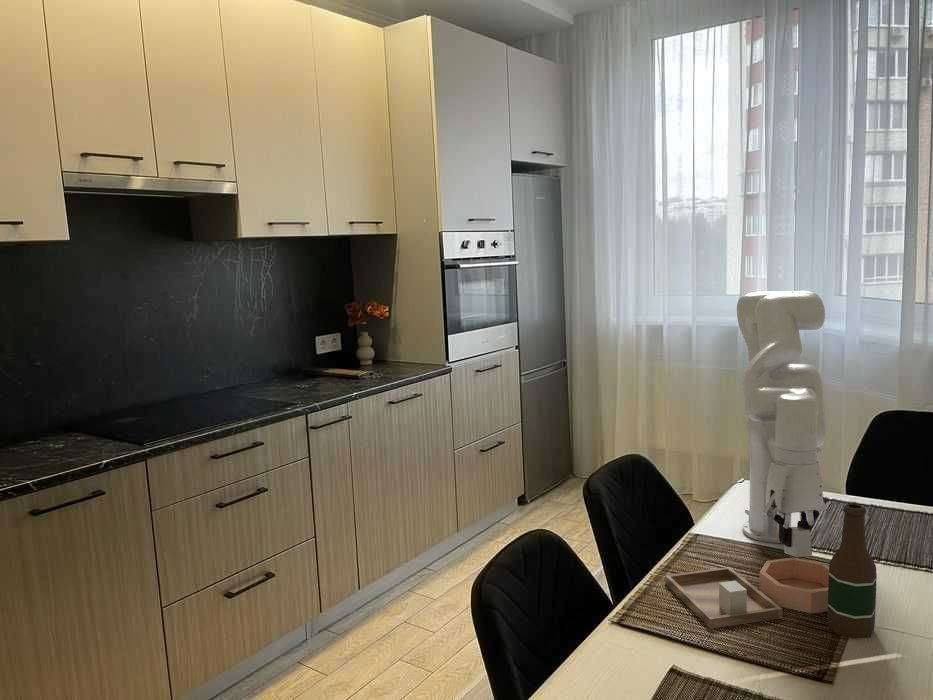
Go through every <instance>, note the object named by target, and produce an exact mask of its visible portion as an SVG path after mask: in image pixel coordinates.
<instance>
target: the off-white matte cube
mask: <svg viewBox="0 0 933 700" xmlns="http://www.w3.org/2000/svg"><path fill="white" fill-rule="evenodd" d="M790 528H792V539H791V547H787V546H785V545H784V544H783V551H784V554H786V555H788V556H791V557H793V558H802V557H810V556H811V557H812V556H813V549H812V548H813V547H812V536H810V530H808V529H803V528H800V527H797V526H794V527H790Z"/></svg>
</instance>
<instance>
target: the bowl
mask: <svg viewBox="0 0 933 700" xmlns="http://www.w3.org/2000/svg"><path fill="white" fill-rule="evenodd" d="M828 578H829V565H828V564H826V563H823V562H819V561H814V560H808V559H802V558H799V557H794V556H791V557H787V558H779V559H778V558H777V559H772V560H766V561H765V563H764V564H763V566H762V568H761V569H760V571H759V591H761V592H762V593H763V594H764V595H766V596H767V597H768V598H769V599H771V600H772V601H773V602H774V603H776V604H777V605H778V606H780V607H781V608H785V609H790V610H794V611H797V612H798V611H799V612H804V613H807V614H816V613H817V614H818V613H824V612H828Z"/></svg>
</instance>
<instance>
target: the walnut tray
mask: <svg viewBox="0 0 933 700" xmlns="http://www.w3.org/2000/svg"><path fill="white" fill-rule="evenodd" d="M664 576H665V577H664V578H665V579H664V582H665V583H664V584H665V585H666V586H667V587H668V588H669V589H670V590H671V591H672V592H673V593H674V594H675V595H676V596H677V597H678V598H679V599H680V600H681V601H682V602H683V603H684V604H685V605H686V606H687V607H688V608H689V609H690V610H691V611H692V612H693V613H694V614H695V616H697V617H698V618H699V619H700V620H701V621H702V622H703V623H704V624H705V625H706V626H707V627H708V628H709V629H717V628H725V627H729V626H730V627H732V626H737V625H745V624H749V623H750V624H751V623H758V622H765V621H771V620H778V619H783V607H780V606H778V605H777V604H776V603H774V602H773V601H772V600H771V599H769V598H768V597H767V596H766V595H764V594H763V593H762V592H761V591H760V589H758V588H757V587H756V586H755V585H753V584H752V583H751V582H749V581H748V580H747V579H746V578H744V577H743V576H742V575H740V574H739V573H738V572H737V571H735V570H734V569H733V568H731V566H727V567H719V568H711V569H705V570H695V571H688V572H680V573H674V574H666V575H664ZM729 581H737V582H738V583H739V584H740V585H742V586H743V587H744V588H745V589H746V590H747V612H741V613H734V614H726V613H725V612H724V611H723V610H722V609H721V608H720V607H719V583H721V582H729Z"/></svg>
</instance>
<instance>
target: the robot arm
mask: <svg viewBox="0 0 933 700" xmlns="http://www.w3.org/2000/svg"><path fill="white" fill-rule="evenodd" d="M736 316H737V317H736V318H737V323H738V328H739V330H740V332H741V335H742V337H743V339H744V342H745V343H746V348H747V352H748V364H747V366H746V369H745V370H744V374H743V381H742V386H743V387H742V390H743V398H744V407H745V412H746V419H745V426H746V428H745V429H746V433H747V434H746V435H747V441H748V449H749V451H748V452H749V508H745V510H744V513H745V514H746V515H747V516H748V520H747V521H746V522H745V523H743V524H742V532H743V534H745V536H747V537H749V538H750V539H752V540H756V541H759V542H764V543H772V544H773V543H774V544H783V546H784V545H785V546H787V547H791V539H792V528H790V527H795V526H794V525H792V514H795V513H799V519H800V520H798V521H797V524H796V525H797V526H796V527H800V528H803V529H808V530H810V536H811V535H812V534H811V532H812V529H811V527H812V526H813V525H814V524H815V520H816V519H817V518H818V516H819V514H821V513H823V512H824V511H825V510H827V505H826V504H825V503H826V502H825V501H824V495H823V494H824V491H823V490H824V488H823V478H822V471H821V466H820V462H819V461H817V460H818V459H817V457H818V455H820V454H821V453H822V449H821V448H820V447H821V446H823V445H824V443H825V441H826V438H827V421H826V413H825V410H826V409H825V401H824V390H823V382H822V377H821V374H820V371H819V370H818V368H816V367H815V365H811V364H809V363H793V362H795V361H796V360H797V359H799V358H800V356H801V354H802V351H803V346H802V345H803V344H802V341H801V337H800V336H801V335H800V331H815V330H819V329H820V328H822V327H823V325H824V323H825V319H826V308H825V305H824V302H823V299H822V298H821V296H820V295H818V294H817V293H816V292H813V291H810V290H782V291H781V290H780V291H779V290H778V291H776V290H773V291H771V290H769V291H755V292H749V293H747V294H742V295H741V296H740V297H739V298H738V300H737V303H736ZM811 537H812V536H811Z"/></svg>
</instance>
